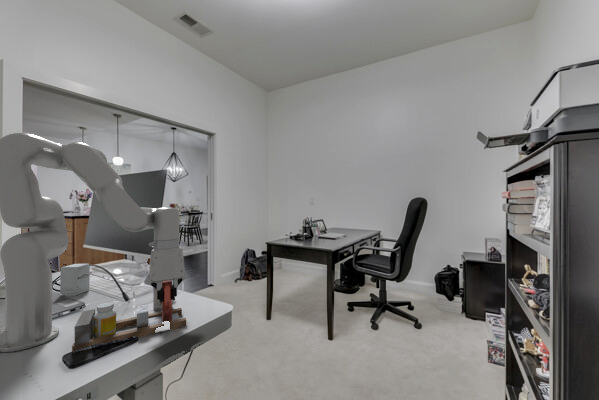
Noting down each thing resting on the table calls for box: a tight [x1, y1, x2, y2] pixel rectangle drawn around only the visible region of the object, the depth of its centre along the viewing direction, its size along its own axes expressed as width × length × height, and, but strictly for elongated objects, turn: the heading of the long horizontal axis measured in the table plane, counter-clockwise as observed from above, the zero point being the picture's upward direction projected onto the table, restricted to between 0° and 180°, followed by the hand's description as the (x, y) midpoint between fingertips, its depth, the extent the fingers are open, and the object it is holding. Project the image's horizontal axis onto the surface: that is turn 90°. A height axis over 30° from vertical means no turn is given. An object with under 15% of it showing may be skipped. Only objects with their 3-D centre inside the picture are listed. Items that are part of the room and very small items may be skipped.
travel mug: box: [152, 280, 173, 312], centre depth 98 cm, size 6×7×20 cm
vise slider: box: [136, 280, 181, 329], centre depth 84 cm, size 12×7×13 cm, turn 122°
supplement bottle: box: [93, 301, 117, 338], centre depth 77 cm, size 5×5×10 cm
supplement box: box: [59, 263, 91, 297], centre depth 117 cm, size 7×7×13 cm
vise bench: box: [71, 307, 187, 353], centre depth 81 cm, size 28×12×7 cm, turn 122°
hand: (167, 299), depth 86 cm, fingers closed on vise slider, 3 cm apart
